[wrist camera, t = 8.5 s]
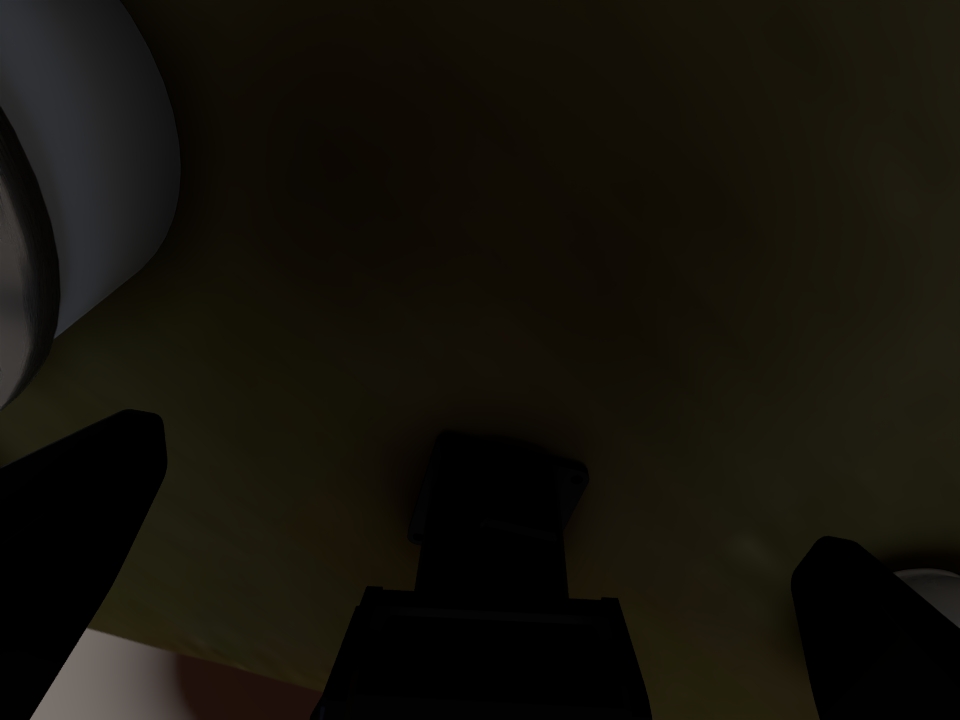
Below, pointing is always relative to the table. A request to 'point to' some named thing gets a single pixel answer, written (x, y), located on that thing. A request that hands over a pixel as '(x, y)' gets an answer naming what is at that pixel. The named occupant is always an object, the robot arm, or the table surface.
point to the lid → (24, 270)
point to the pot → (91, 138)
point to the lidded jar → (936, 589)
